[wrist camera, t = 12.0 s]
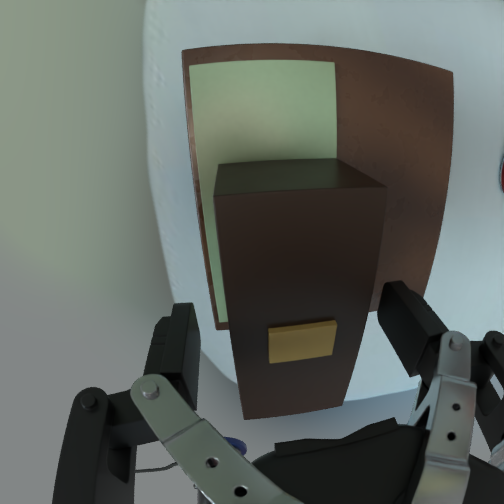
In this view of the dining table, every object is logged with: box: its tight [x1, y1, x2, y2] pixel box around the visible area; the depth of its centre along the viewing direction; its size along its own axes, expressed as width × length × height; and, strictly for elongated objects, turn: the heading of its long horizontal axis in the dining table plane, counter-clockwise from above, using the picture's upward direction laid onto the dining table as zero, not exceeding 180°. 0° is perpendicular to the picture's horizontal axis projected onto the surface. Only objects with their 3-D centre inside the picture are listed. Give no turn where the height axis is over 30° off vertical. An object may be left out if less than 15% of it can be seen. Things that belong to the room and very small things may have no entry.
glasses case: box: [213, 158, 388, 420], centre depth 12 cm, size 11×5×5 cm, turn 3°
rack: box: [182, 43, 454, 330], centre depth 18 cm, size 14×13×12 cm
